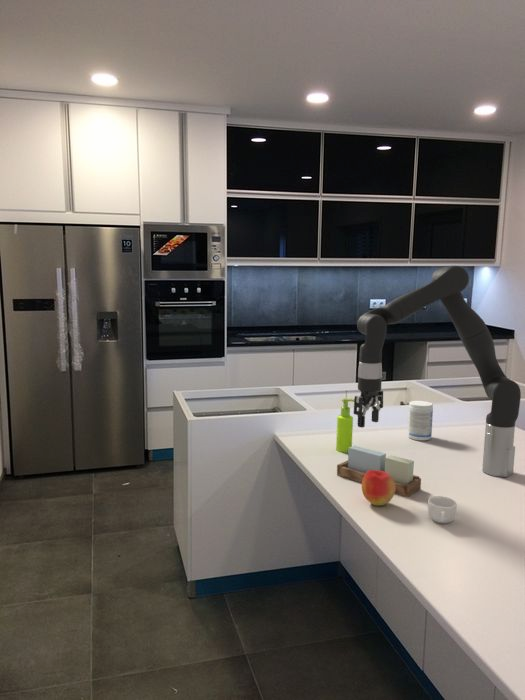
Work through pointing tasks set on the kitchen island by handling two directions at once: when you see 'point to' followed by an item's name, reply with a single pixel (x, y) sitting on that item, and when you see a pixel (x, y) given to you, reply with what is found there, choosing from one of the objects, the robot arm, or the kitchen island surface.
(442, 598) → the kitchen island surface
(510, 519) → the kitchen island surface
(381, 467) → the blue-grey rectangular block
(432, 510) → the teacup
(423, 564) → the kitchen island surface
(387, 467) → the seated panel
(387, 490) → the apple
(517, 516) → the kitchen island surface
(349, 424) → the soap dispenser
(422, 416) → the supplement tub
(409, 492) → the wooden tray
